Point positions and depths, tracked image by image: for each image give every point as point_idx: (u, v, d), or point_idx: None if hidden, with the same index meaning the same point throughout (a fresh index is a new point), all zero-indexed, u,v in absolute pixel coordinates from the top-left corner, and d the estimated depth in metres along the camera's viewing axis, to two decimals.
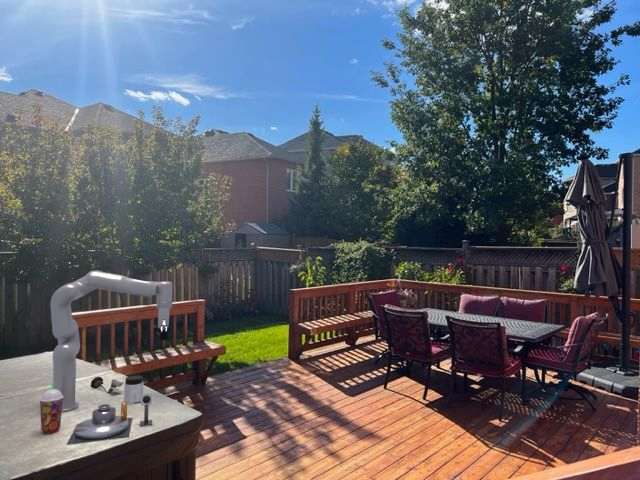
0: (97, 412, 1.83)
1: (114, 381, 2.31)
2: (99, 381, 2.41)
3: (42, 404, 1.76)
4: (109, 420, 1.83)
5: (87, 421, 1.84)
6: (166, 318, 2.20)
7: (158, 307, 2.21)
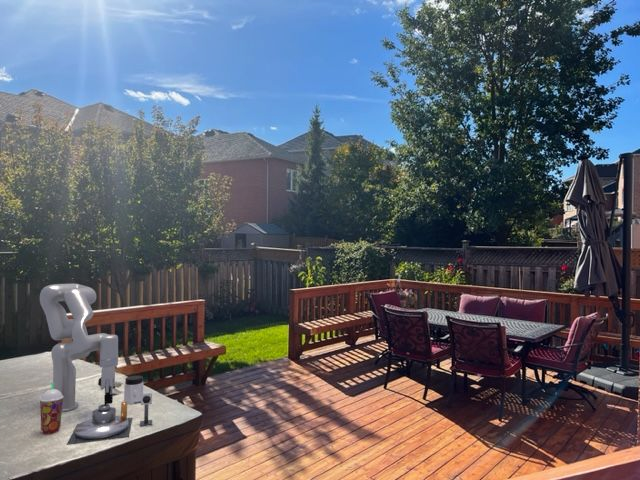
0: (97, 412, 1.83)
1: None
2: None
3: (42, 404, 1.76)
4: (109, 420, 1.83)
5: (87, 421, 1.84)
6: (110, 378, 1.93)
7: (101, 365, 1.94)
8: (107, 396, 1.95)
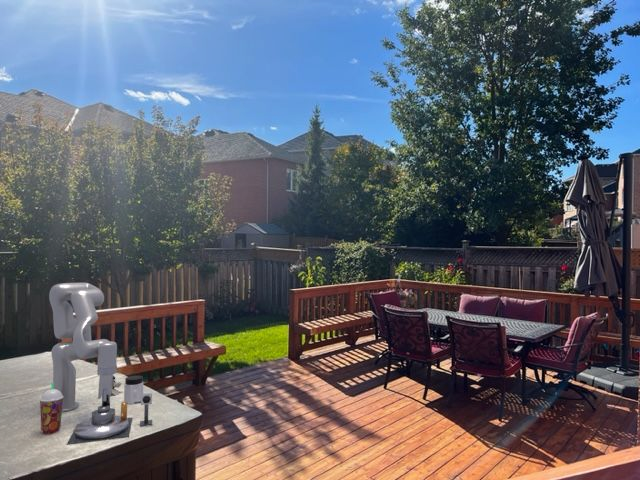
0: (96, 413, 1.82)
1: None
2: None
3: (42, 404, 1.76)
4: (108, 421, 1.82)
5: (87, 421, 1.84)
6: (108, 387, 1.87)
7: (99, 373, 1.88)
8: None
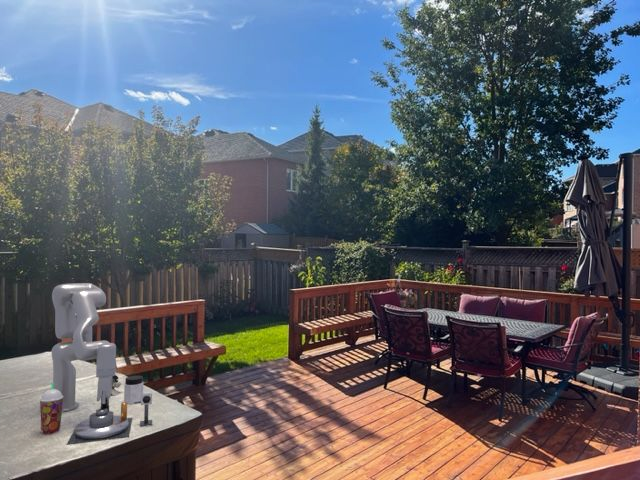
0: (94, 416, 1.78)
1: None
2: (113, 379, 2.45)
3: (42, 404, 1.76)
4: (106, 424, 1.78)
5: (87, 421, 1.84)
6: (107, 389, 1.83)
7: (97, 376, 1.85)
8: None
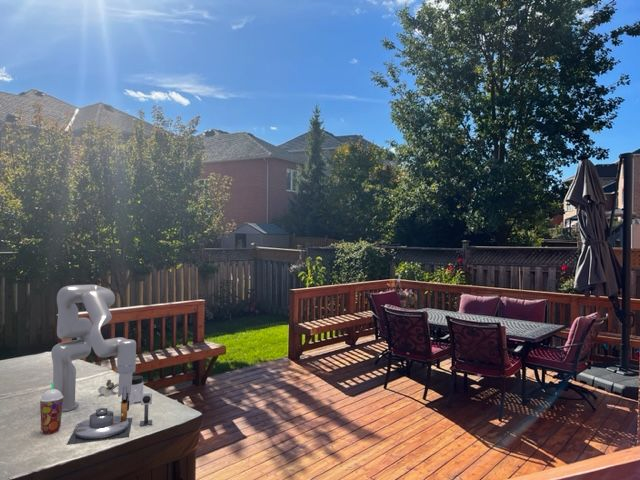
0: (94, 416, 1.78)
1: None
2: None
3: (42, 404, 1.76)
4: (106, 424, 1.78)
5: (87, 421, 1.84)
6: (127, 385, 1.86)
7: (118, 371, 1.88)
8: None
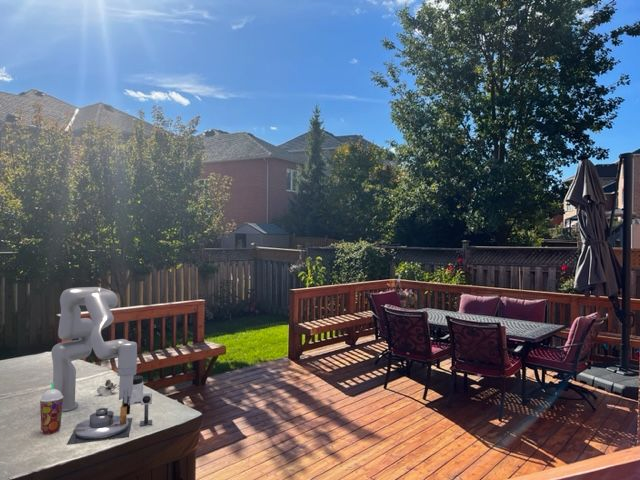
0: (94, 415, 1.80)
1: None
2: None
3: (42, 404, 1.76)
4: (99, 426, 1.77)
5: None
6: (128, 388, 1.82)
7: (119, 374, 1.83)
8: None
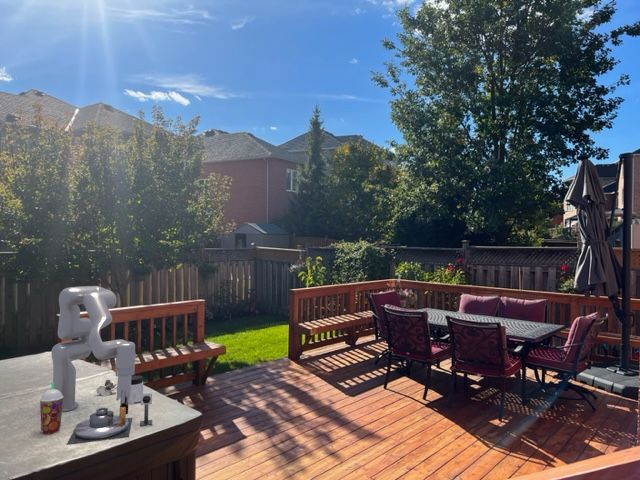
0: (94, 414, 1.80)
1: None
2: None
3: (42, 404, 1.76)
4: (98, 426, 1.76)
5: None
6: (126, 388, 1.83)
7: (117, 374, 1.84)
8: None
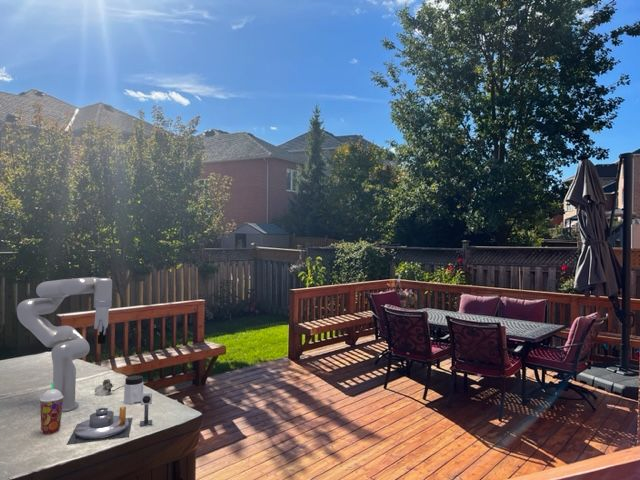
0: (94, 414, 1.80)
1: None
2: None
3: (42, 404, 1.76)
4: (98, 426, 1.76)
5: None
6: (103, 318, 2.00)
7: (95, 306, 2.01)
8: (100, 336, 2.02)
